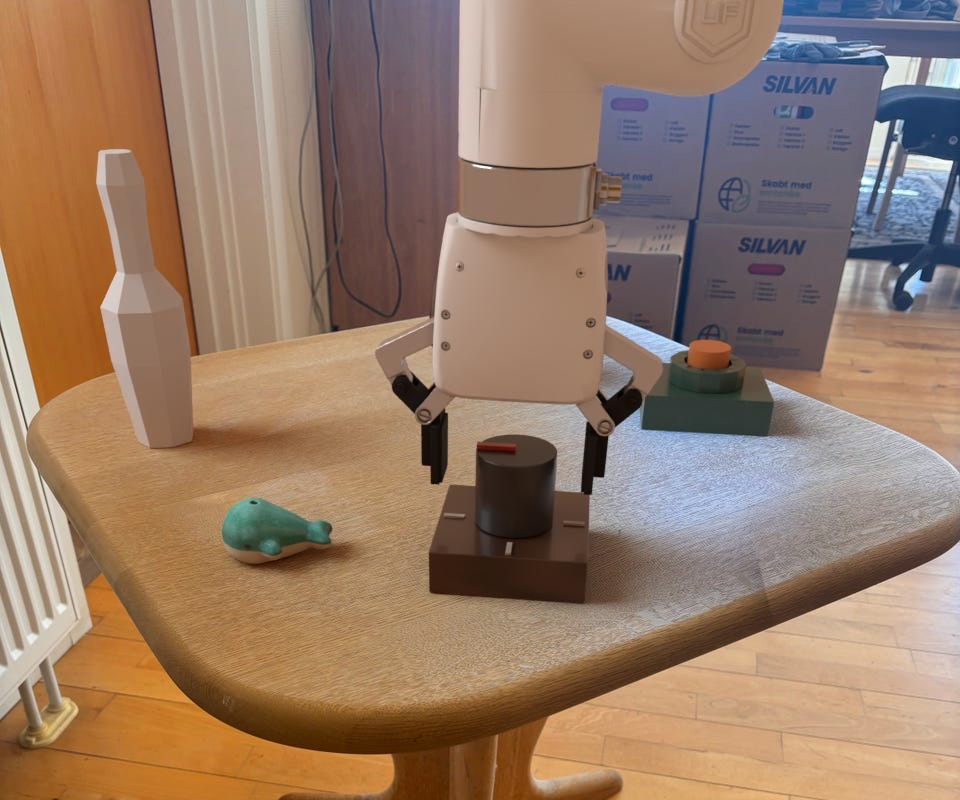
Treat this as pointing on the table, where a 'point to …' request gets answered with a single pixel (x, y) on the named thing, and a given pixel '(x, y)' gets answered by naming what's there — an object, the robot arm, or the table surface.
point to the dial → (515, 485)
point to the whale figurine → (270, 532)
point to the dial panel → (510, 553)
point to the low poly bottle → (143, 313)
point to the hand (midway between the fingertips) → (512, 480)
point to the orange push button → (709, 354)
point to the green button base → (708, 399)
